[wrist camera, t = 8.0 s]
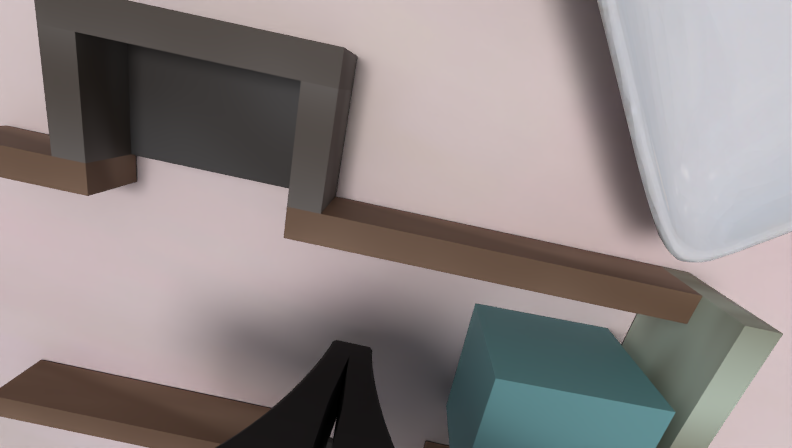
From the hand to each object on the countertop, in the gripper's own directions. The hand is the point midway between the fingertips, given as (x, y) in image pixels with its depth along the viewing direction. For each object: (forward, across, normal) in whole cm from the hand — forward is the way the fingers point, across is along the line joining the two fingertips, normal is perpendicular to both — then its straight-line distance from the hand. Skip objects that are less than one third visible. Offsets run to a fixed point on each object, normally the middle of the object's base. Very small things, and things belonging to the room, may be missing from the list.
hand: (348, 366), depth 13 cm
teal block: (+2, -7, 0) cm, 7 cm away
